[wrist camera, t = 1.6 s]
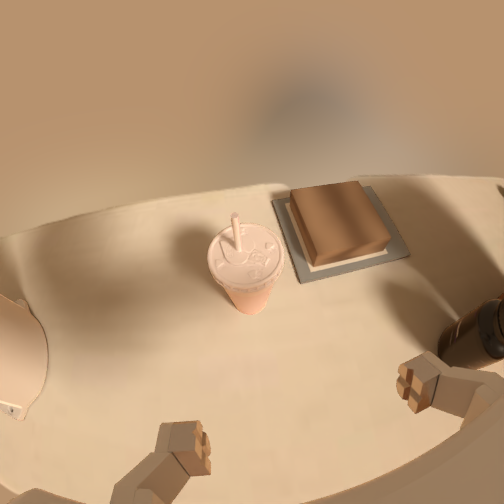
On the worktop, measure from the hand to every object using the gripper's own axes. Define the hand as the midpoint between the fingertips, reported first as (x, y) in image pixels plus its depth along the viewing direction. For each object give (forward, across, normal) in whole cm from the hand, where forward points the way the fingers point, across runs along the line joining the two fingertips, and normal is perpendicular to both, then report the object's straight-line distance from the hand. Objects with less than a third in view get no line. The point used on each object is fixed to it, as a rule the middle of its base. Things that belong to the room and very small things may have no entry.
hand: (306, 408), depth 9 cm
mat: (+26, -13, -1) cm, 30 cm away
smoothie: (+21, +1, +4) cm, 22 cm away
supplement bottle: (+12, -22, +14) cm, 29 cm away
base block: (+26, -12, -2) cm, 29 cm away
